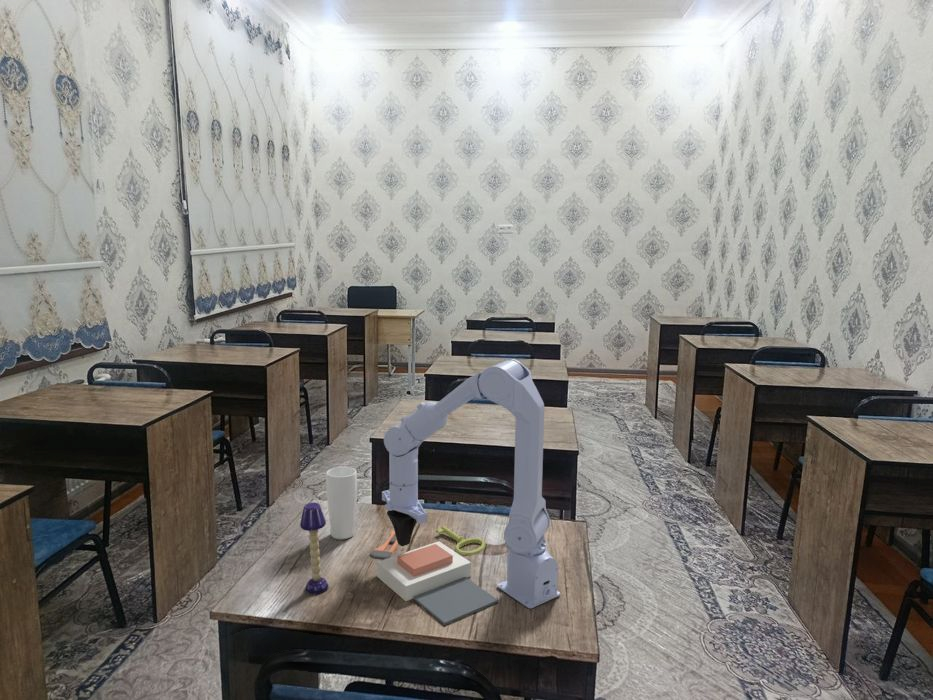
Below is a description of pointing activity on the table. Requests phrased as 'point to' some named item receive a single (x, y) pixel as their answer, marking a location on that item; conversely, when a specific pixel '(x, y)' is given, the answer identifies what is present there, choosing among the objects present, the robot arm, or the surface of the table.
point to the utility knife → (380, 551)
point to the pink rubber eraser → (424, 560)
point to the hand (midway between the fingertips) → (403, 543)
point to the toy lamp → (314, 545)
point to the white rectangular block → (424, 582)
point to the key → (462, 541)
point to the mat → (455, 600)
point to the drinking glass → (341, 501)
